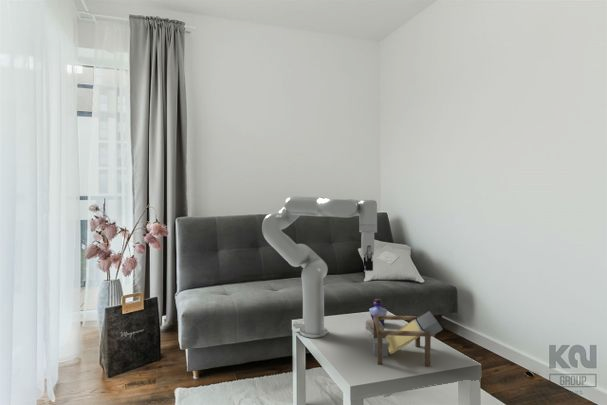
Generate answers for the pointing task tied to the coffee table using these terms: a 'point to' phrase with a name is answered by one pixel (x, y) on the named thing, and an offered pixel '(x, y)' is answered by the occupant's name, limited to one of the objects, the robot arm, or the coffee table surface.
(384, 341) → the smooth grey cube
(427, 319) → the trapdoor
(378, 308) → the potion bottle
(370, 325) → the concrete fragment
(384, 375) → the coffee table surface
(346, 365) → the coffee table surface
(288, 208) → the robot arm
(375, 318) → the frame
